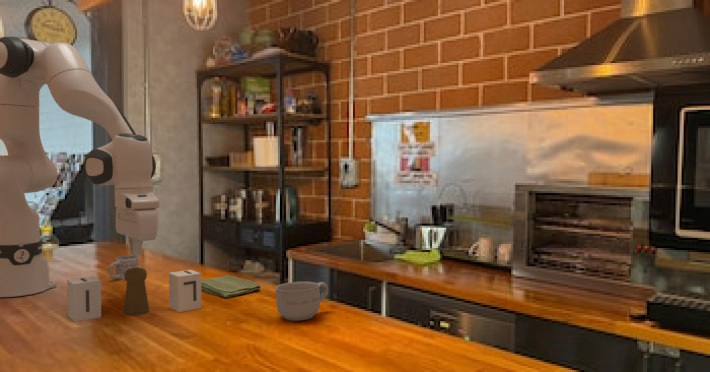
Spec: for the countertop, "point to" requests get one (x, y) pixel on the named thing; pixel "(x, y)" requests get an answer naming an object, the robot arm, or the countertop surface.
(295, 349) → the countertop surface
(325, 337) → the countertop surface
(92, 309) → the grey marked block
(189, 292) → the cream marked block
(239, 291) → the washcloth
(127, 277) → the dark brown tapered piece
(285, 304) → the teacup
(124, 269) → the mug
